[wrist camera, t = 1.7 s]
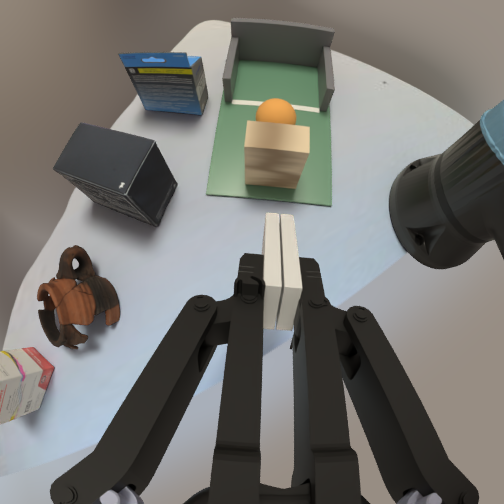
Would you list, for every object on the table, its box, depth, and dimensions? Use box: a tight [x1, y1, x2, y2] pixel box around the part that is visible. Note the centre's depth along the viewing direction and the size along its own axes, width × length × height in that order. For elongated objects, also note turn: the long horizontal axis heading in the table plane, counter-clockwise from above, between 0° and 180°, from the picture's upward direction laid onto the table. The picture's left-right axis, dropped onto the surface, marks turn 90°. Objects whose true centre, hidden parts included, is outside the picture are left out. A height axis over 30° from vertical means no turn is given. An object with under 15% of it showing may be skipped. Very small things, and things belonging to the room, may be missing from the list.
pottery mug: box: [37, 245, 120, 349], centre depth 31 cm, size 12×10×8 cm
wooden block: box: [244, 121, 310, 189], centre depth 31 cm, size 6×3×9 cm, turn 85°
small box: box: [53, 123, 177, 227], centre depth 31 cm, size 11×6×10 cm, turn 69°
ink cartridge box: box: [0, 347, 54, 424], centre depth 24 cm, size 9×5×15 cm, turn 150°
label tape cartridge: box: [118, 52, 208, 115], centre depth 32 cm, size 9×4×12 cm, turn 78°
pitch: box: [206, 18, 335, 206], centre depth 34 cm, size 15×24×8 cm, turn 175°
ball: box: [256, 98, 296, 125], centre depth 35 cm, size 5×5×5 cm
